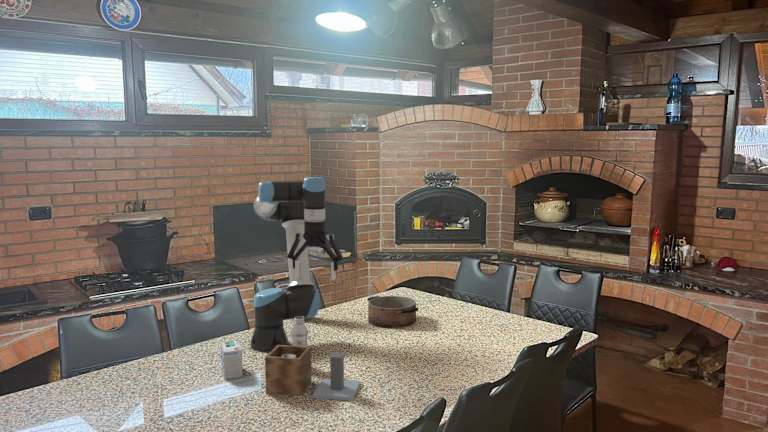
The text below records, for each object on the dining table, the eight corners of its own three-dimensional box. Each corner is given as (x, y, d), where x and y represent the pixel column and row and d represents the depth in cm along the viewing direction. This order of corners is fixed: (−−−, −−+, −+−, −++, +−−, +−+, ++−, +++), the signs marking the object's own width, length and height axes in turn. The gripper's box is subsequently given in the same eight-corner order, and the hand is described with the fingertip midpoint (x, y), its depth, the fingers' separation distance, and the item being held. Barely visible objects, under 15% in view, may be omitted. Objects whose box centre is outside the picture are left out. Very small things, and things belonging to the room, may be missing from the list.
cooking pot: (353, 321, 269) (353, 299, 268) (388, 313, 284) (388, 292, 282) (395, 337, 247) (395, 313, 245) (431, 327, 261) (431, 304, 260)
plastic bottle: (292, 374, 205) (291, 320, 203) (290, 367, 211) (289, 315, 209) (310, 372, 207) (309, 319, 204) (307, 365, 213) (306, 314, 211)
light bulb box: (221, 370, 209) (220, 342, 207) (239, 368, 211) (238, 340, 210) (223, 381, 199) (223, 351, 198) (243, 378, 201) (242, 349, 200)
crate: (266, 396, 186) (265, 357, 185) (278, 382, 198) (277, 344, 196) (301, 399, 184) (300, 359, 183) (311, 384, 196) (310, 346, 195)
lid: (312, 400, 182) (312, 361, 181) (323, 384, 195) (323, 347, 193) (352, 403, 180) (352, 363, 179) (360, 386, 193) (360, 349, 191)
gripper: (277, 220, 201) (279, 279, 203) (345, 223, 196) (346, 282, 198) (285, 217, 208) (286, 274, 211) (351, 220, 203) (351, 277, 206)
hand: (315, 278), depth 205 cm, fingers open, 13 cm apart
